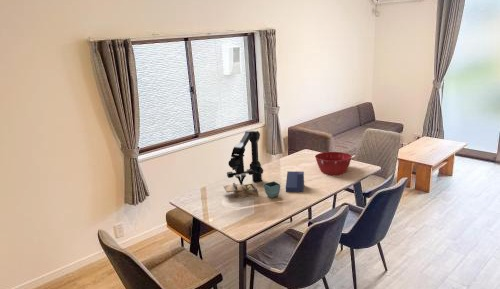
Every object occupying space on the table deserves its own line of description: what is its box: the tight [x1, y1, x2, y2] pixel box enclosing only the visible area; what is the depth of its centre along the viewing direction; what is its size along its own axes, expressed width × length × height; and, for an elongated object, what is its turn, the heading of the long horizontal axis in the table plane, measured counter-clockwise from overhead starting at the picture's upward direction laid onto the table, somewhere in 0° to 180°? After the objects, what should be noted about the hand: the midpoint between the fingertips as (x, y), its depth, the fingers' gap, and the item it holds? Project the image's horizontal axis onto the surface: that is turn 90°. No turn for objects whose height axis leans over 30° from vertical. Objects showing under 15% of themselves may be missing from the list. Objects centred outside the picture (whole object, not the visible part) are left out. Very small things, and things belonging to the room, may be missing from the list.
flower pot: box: [263, 181, 281, 198], centre depth 253 cm, size 9×9×9 cm
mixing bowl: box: [314, 151, 353, 176], centre depth 291 cm, size 28×28×16 cm
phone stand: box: [285, 170, 305, 193], centre depth 262 cm, size 12×12×12 cm
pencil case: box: [233, 183, 258, 199], centre depth 262 cm, size 15×13×4 cm
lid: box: [223, 182, 247, 194], centre depth 260 cm, size 14×13×3 cm
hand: (241, 184), depth 260 cm, fingers closed
